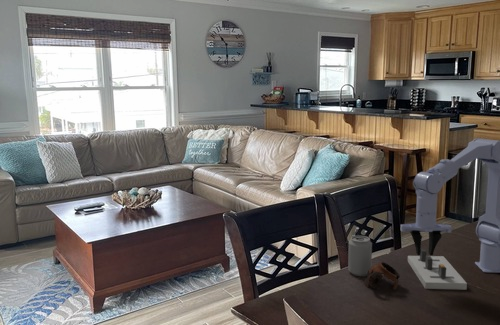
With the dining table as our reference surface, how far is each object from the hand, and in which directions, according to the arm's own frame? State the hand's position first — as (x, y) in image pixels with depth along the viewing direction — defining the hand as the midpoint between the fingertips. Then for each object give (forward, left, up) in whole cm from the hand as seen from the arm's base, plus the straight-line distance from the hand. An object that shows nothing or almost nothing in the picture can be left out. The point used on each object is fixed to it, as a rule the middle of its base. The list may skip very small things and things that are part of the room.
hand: (424, 254), depth 137 cm
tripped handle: (-6, 0, -7) cm, 9 cm away
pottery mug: (+14, +3, -10) cm, 17 cm away
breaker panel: (-6, -7, -9) cm, 13 cm away
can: (+18, -7, -10) cm, 22 cm away
